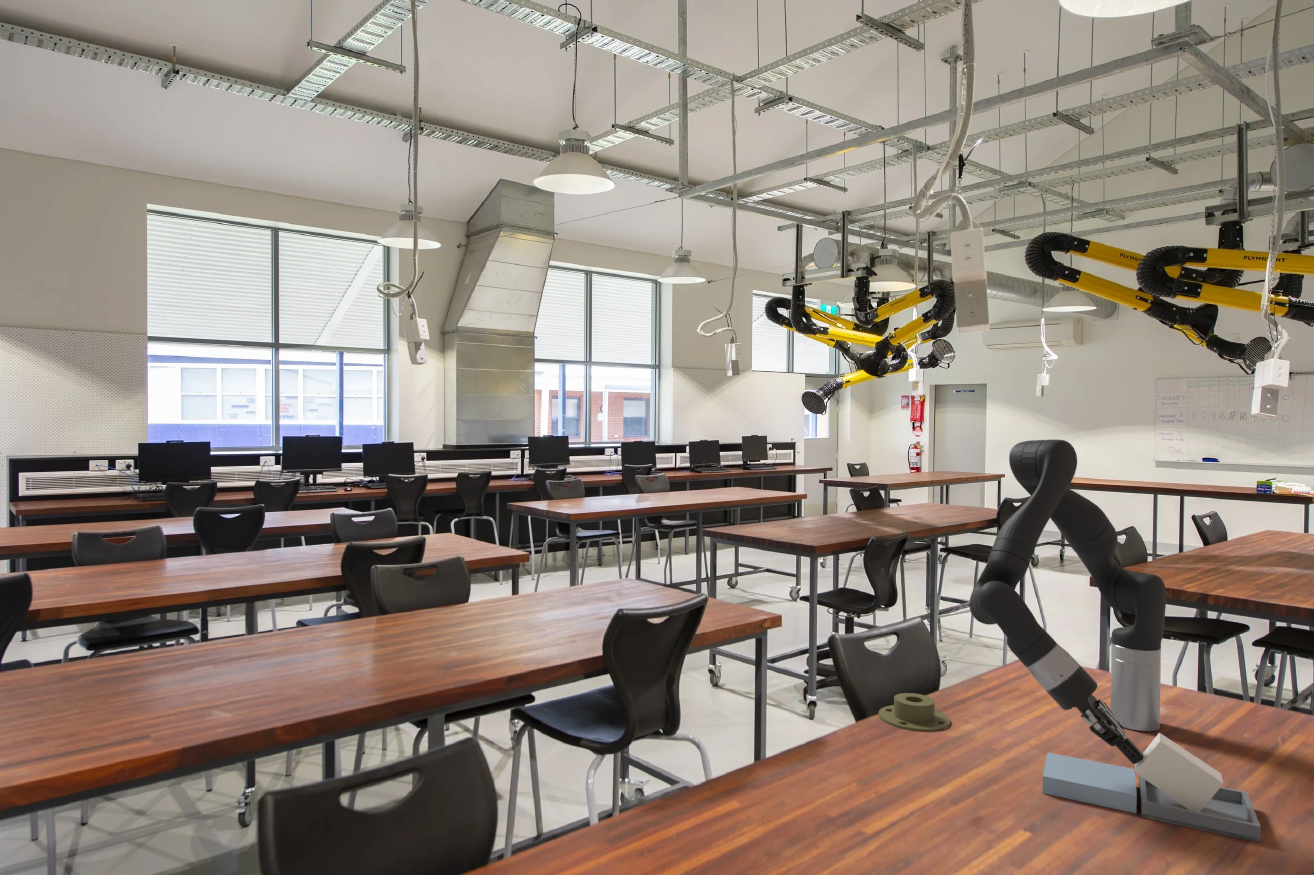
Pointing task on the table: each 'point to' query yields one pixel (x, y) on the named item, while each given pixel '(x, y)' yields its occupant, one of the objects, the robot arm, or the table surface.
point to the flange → (914, 713)
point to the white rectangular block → (1178, 773)
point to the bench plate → (1090, 782)
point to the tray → (1204, 812)
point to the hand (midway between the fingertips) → (1139, 760)
